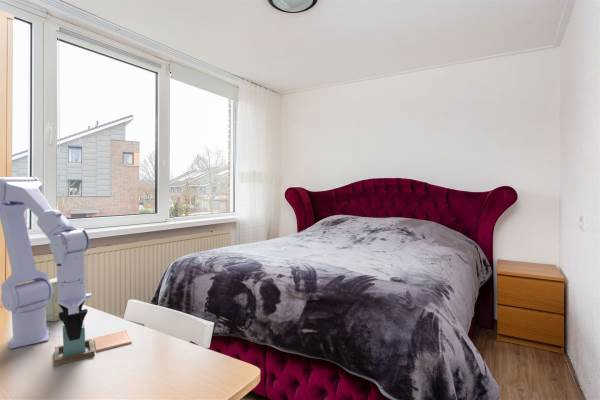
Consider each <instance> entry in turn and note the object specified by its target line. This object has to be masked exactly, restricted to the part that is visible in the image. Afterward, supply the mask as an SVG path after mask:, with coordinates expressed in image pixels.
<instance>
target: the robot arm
mask: <svg viewBox="0 0 600 400" xmlns="http://www.w3.org/2000/svg"><path fill="white" fill-rule="evenodd" d="M26 210H30V211H31V212H32V213H33V214H34V215H35V216H36V217H37V220H36V224H37V226H38V227H39V229H40V230H41V232H43V234H44V235H45V236H46V238H47V239H48V240H49V244H48V245H49V249H50V252H51V254H52V260H53V262H54V263H55V264H56V278H57V286H58V299H57V303H58V304H59V306H60V307H61V309H62V310H63V312H60V313H59V318H60V321H61V322H62V324H63V325H65V328H66V332H67V336H68V339H69V341H72V340H77V339H80V336H81V330H82V324H83V321H85V318H86V316H87V314H88V308H84V309H83V307H84V304H85V301H86V300H87V299H91V298H92V293H91V292H87V289H86V287H87V286H86V267H85V266H86V265H85V252H86V251H87V250H88V249H89V246H90V237H89V234H88V233H87V231H86V230H85V229H84V228H78V226H74V225H73V224H72V223H71V221H70V220H68V218H67V217H66V216H65V215H64V213H63V212H62V211H60V210H58V209H53V208H52V206H51V205H50V203H49V201H48V200H47V199H46V197H45V196H44V194H43V183H41V181H40V179H39V178H38V177H36V176H0V224H1V229H2V234H3V237H4V243H5V248H6V251H7V256H8V260H9V265H10V270H11V274H9V276H8V277H7V278H6V279H5V280H4V281H3V282H2V283H1V284H0V287H1V288H0V290H1V295H0V300H1V304H2V306H3V307H4V309H5V310H7V311H8V312H10V313H11V325H12V326H11V327H12V337H11V340H10V345H9V349H16V348H20V347H21V348H22V347H25V346H29V345H34V344H38V343H43V342H48V341H49V336H50V327H49V326H47V321H46V304H48V300H50V299H51V297H52V295H53V286H52V284H51V282H50V281H49V280H50V279H49V276H48V273H47V272H45V271H42V270H40V269H38V268H37V267H36V263H35V258H34V253H33V249H32V245H31V241H30V237H29V231H28V228H27V223H26V219H25V215H24V213H25V212H26Z"/></svg>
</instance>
